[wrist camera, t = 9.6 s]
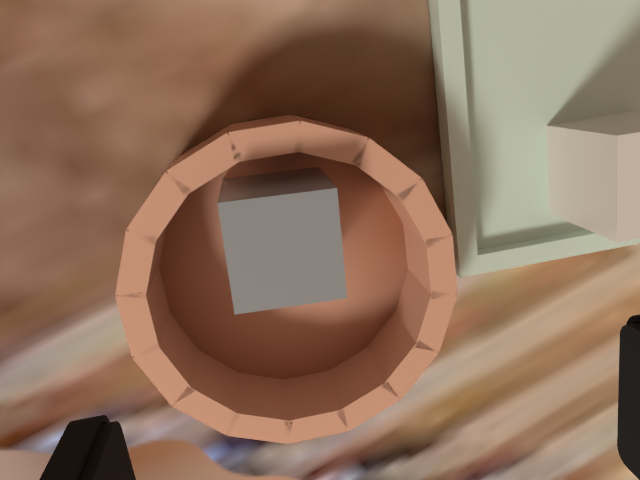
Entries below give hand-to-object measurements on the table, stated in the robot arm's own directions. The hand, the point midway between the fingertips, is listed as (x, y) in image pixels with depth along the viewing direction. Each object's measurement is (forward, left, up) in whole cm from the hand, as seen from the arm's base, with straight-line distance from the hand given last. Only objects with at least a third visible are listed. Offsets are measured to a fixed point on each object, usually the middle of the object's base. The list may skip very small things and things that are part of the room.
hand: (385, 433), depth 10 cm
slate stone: (0, -1, -17) cm, 17 cm away
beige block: (0, +15, -18) cm, 23 cm away
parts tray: (-3, +15, -18) cm, 24 cm away
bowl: (+3, -1, -18) cm, 18 cm away
